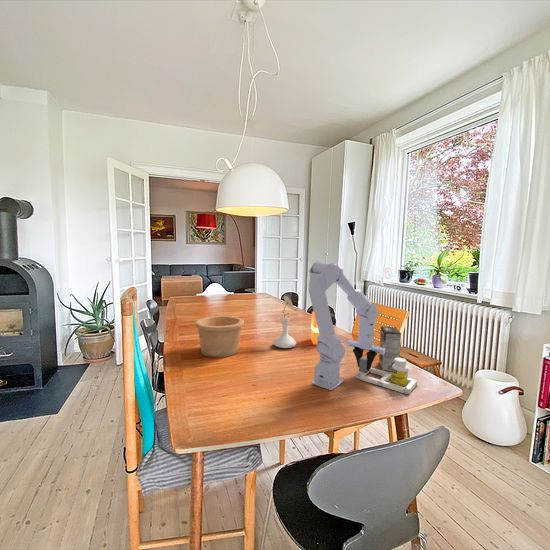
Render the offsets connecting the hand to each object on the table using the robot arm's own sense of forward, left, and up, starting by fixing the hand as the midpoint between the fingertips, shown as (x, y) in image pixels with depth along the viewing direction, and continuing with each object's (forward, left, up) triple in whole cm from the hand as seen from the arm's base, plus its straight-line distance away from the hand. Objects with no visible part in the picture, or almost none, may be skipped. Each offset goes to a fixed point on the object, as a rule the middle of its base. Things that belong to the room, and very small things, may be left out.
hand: (364, 367), depth 118 cm
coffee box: (+15, -4, -3) cm, 16 cm away
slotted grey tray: (0, -8, -3) cm, 9 cm away
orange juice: (+24, +35, -3) cm, 42 cm away
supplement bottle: (0, -13, -3) cm, 14 cm away
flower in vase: (+6, +44, -3) cm, 44 cm away
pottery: (-21, +61, -3) cm, 64 cm away
